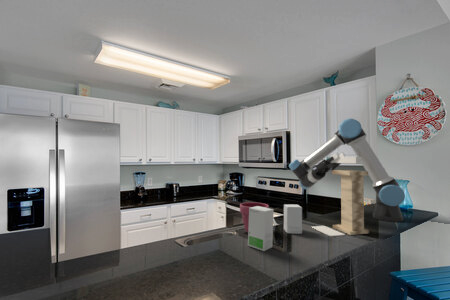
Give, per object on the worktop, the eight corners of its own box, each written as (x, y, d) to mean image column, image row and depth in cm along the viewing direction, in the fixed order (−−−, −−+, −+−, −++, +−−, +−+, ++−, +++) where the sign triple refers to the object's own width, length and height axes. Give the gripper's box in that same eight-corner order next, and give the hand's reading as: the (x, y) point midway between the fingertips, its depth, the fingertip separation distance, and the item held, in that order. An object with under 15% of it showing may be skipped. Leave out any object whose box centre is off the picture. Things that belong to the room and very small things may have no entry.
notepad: (323, 226, 128) (323, 225, 128) (345, 235, 113) (345, 234, 113) (310, 227, 125) (310, 226, 125) (331, 236, 111) (331, 235, 111)
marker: (331, 162, 137) (331, 157, 137) (361, 163, 117) (361, 156, 117) (326, 162, 136) (326, 157, 136) (355, 163, 116) (355, 156, 116)
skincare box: (247, 246, 98) (247, 207, 98) (256, 242, 103) (257, 205, 103) (264, 251, 92) (264, 210, 93) (273, 247, 97) (274, 208, 98)
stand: (349, 226, 128) (349, 170, 129) (368, 233, 116) (368, 171, 117) (332, 227, 125) (332, 170, 126) (350, 235, 113) (349, 171, 114)
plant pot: (265, 226, 126) (265, 202, 127) (271, 235, 112) (271, 207, 113) (238, 226, 126) (238, 201, 127) (240, 234, 112) (241, 207, 113)
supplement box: (302, 233, 115) (302, 207, 115) (286, 233, 115) (286, 207, 115) (298, 229, 122) (298, 204, 123) (283, 229, 122) (283, 204, 123)
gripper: (329, 179, 147) (356, 161, 128) (306, 180, 143) (330, 160, 123) (325, 168, 151) (350, 149, 132) (303, 169, 146) (325, 148, 127)
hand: (340, 154), depth 128 cm, fingers closed on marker, 3 cm apart
